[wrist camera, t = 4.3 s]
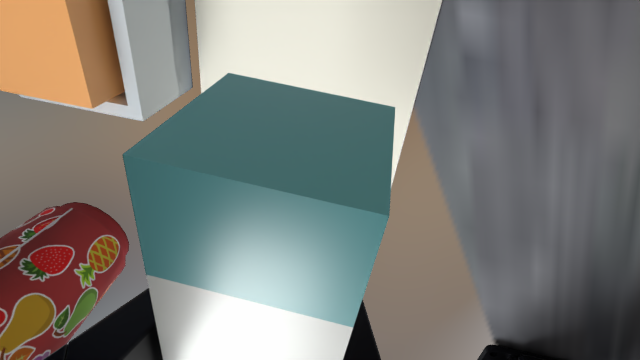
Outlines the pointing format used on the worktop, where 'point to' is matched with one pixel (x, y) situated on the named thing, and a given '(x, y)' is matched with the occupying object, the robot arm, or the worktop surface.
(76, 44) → the button
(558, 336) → the worktop surface
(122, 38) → the button housing
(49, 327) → the smoothie
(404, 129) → the paper sheet
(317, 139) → the milk carton
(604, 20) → the worktop surface
